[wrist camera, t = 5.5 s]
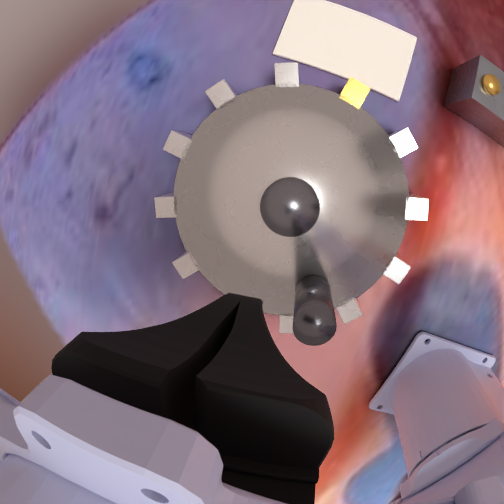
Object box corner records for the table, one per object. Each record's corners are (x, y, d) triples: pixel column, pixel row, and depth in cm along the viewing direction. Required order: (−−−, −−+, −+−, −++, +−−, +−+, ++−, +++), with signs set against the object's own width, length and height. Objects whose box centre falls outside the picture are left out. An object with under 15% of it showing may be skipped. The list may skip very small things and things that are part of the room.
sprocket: (375, 52, 14) (404, 13, 9) (428, 286, 18) (465, 332, 12) (142, 122, 18) (85, 115, 12) (214, 333, 22) (186, 387, 16)
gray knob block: (514, 114, 14) (550, 111, 10) (506, 150, 15) (543, 152, 11) (451, 69, 14) (482, 53, 10) (442, 106, 15) (474, 96, 11)
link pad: (415, 39, 14) (417, 37, 14) (397, 101, 16) (398, 101, 15) (297, -6, 14) (297, -8, 14) (273, 55, 16) (272, 53, 16)
